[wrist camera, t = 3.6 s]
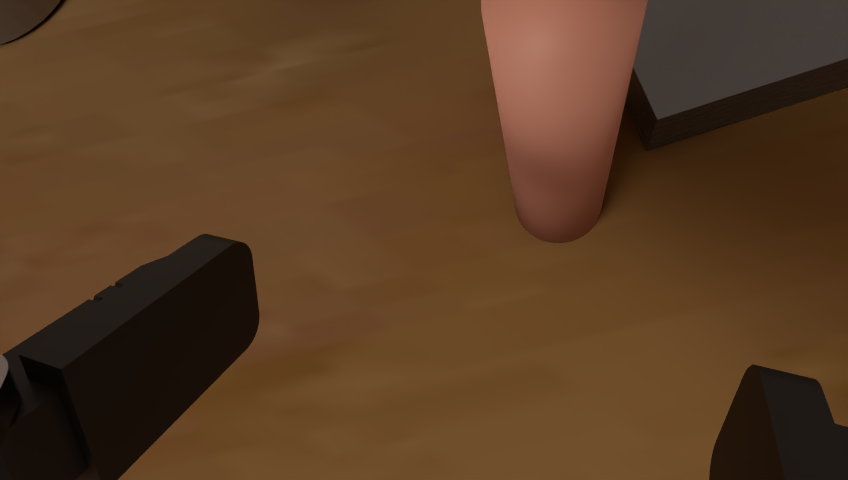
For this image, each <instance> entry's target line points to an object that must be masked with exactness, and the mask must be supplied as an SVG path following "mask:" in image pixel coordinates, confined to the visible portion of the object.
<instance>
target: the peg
mask: <svg viewBox="0 0 848 480" xmlns="http://www.w3.org/2000/svg"><path fill="white" fill-rule="evenodd" d="M647 2H648V0H481V10H482V18H483V23H484V29H485V35H486V41H487V46H488V52H489V58H490V64H491V69H492V75H493V81H494V86H495V92H496V98H497V104H498V109H499V115H500V121H501V127H502V132H503V138H504V144H505V150H506V155H507V161H508V167H509V173H510V178H511V184H512V190H513V196H514V201H515V207H516V212H517V216H518V218H519V221H520V222H521V224H522V225H523V227H524V228H525V229H526V230H527V231H528V232H529V233H530V234H532V235H533V236H535V237H536V238H538V239H541V240H543V241H547V242H552V243H564V242H569V241H573V240H576V239H578V238H580V237H582V236H583V235H585V234H586V233H587V232H589V231H590V230H591V229H592V227H593V226H594V225H595V223H596V222H597V220H598V218H599V216H600V212H601V208H602V204H603V199H604V195H605V190H606V186H607V181H608V177H609V172H610V168H611V163H612V159H613V154H614V150H615V145H616V141H617V136H618V132H619V128H620V123H621V119H622V114H623V110H624V105H625V101H626V96H627V92H628V87H629V83H630V78H631V74H632V69H633V65H634V60H635V56H636V51H637V47H638V42H639V38H640V33H641V29H642V25H643V20H644V16H645V11H646V7H647Z"/></svg>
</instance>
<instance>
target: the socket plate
mask: <svg viewBox="0 0 848 480" xmlns="http://www.w3.org/2000/svg"><path fill="white" fill-rule="evenodd" d="M846 87H848V0H648V2H647V7H646V11H645V16H644V20H643V25H642V29H641V33H640V38H639V42H638V47H637V51H636V56H635V60H634V65H633V69H632V74H631V78H630V83H629V87H628V92H627V96H626V101H625V103H626V105H627V107H628V109H629V112H630V114H631V116H632V118H633V121H634V123H635V125H636V127H637V130H638V132H639V134H640V136H641V139H642V141H643V143H644V146H645V148H646V150H650V149H654V148H657V147H660V146H663V145H666V144H669V143H673V142H676V141H679V140H682V139H685V138H688V137H692V136H695V135H698V134H701V133H704V132H707V131H710V130H714V129H717V128H720V127H723V126H726V125H729V124H733V123H736V122H739V121H742V120H745V119H748V118H751V117H755V116H758V115H761V114H764V113H767V112H770V111H774V110H777V109H780V108H783V107H786V106H789V105H793V104H796V103H799V102H802V101H805V100H808V99H811V98H815V97H818V96H821V95H824V94H827V93H830V92H834V91H837V90H840V89H843V88H846Z"/></svg>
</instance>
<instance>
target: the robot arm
mask: <svg viewBox="0 0 848 480" xmlns="http://www.w3.org/2000/svg"><path fill="white" fill-rule="evenodd" d="M59 2H60V0H0V44H3V43H6V42H8V41H11V40H14V39H16V38H18V37H20V36H21V35H23V34H25V33H26V32H28V31H30V30H31V29H33V28H34V27H35V26H36V25H38V24H39V23H40V22H41V21H43V20H44V19H45V18H46V17H47V16H48V15H49V14H50V13H51V12H52V11H53V10H54V9H55V7H56V6H57V5H58V3H59ZM258 325H259V308H258V300H257V291H256V283H255V275H254V267H253V259H252V253H251V250H250V248H249V247H248V246H247V245H246V244H245V243H243V242H239V241H234V240H230V239H226V238H222V237H217V236H213V235H209V234H203V235H200V236H198V237H196V238H194V239H193V240H191V241H190V242H188V243H187V244H185V245H184V246H182V247H181V248H179V249H178V250H176V251H175V252H173V253H172V254H170V255H169V256H166V257H164V258H161V259H158V260H155V261H153V262H150V263H147V264H145V265H142V266H140V267H138V268H137V269H135V270H134V271H132V272H131V273H129V274H128V275H126V276H124V277H123V278H121V279H120V280H118V281H117V282H116V284H115V286H109V287H107V288H106V289H104V290H103V291H101V292H100V293H98V294H96V295H95V296H94V299H93V300H87V301H86V302H84V303H82V304H81V305H79V306H78V307H76V308H75V309H73V310H72V311H70V312H68V313H67V314H65V315H64V316H62V317H61V318H59V319H57V320H56V321H54V322H53V323H51V324H50V325H48V326H47V327H45V328H43V329H42V330H40V331H39V332H37V333H36V334H34V335H33V336H31V337H29V338H28V339H26V340H25V341H23V342H22V343H20V344H19V345H17V346H15V347H14V348H12V349H11V350H9V351H8V352H6V353H4V354H3V355H1V354H0V480H118V479H119V478H120V477H121V476H122V475H123V474H124V473H125V472H126V471H127V470H128V468H129V467H130V466H131V465H132V464H133V463H134V462H135V461H136V460H137V459H138V458H139V457H140V456H141V455H142V454H143V453H144V452H145V451H146V450H147V449H148V448H149V447H150V446H151V445H152V444H153V443H154V442H155V441H156V440H157V439H158V438H159V437H160V436H161V435H162V434H163V433H164V432H165V431H166V430H167V429H168V428H169V427H170V426H171V425H172V424H173V423H174V422H175V421H176V420H177V419H178V418H179V417H180V416H181V415H182V414H183V413H184V412H185V411H186V410H187V409H188V408H189V407H190V406H191V405H192V404H193V403H194V402H195V401H196V400H197V399H198V398H199V397H200V396H201V395H202V394H203V393H204V392H205V391H206V390H207V389H208V388H209V387H210V386H211V385H212V384H213V383H214V382H215V381H216V380H217V379H218V378H219V377H220V375H221V374H222V373H223V372H224V371H225V370H226V369H227V368H228V367H229V366H230V365H231V364H232V363H233V362H234V361H235V360H236V359H237V358H238V357H239V356H240V355H241V354H242V353H243V352H244V351H245V350H246V349H247V348H248V347H249V345H250V344H251V343H252V341H253V339H254V337H255V335H256V332H257V329H258ZM709 480H848V427H845V426H841V425H837V424H835V423H834V420H833V417H832V415H831V412H830V409H829V406H828V404H827V401H826V398H825V395H824V393H823V390H822V387H821V385H820V384H819V382H818V381H817V380H815V379H812V378H808V377H804V376H799V375H795V374H791V373H787V372H783V371H778V370H774V369H770V368H766V367H761V366H757V365H751V366H750V367H749V368H748V369H747V370H746V372H745V374H744V376H743V378H742V380H741V383H740V385H739V388H738V390H737V392H736V395H735V397H734V399H733V402H732V404H731V407H730V409H729V411H728V414H727V416H726V419H725V421H724V423H723V426H722V428H721V431H720V433H719V435H718V438H717V440H716V443H715V446H714V449H713V454H712V459H711V465H710V476H709Z"/></svg>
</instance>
